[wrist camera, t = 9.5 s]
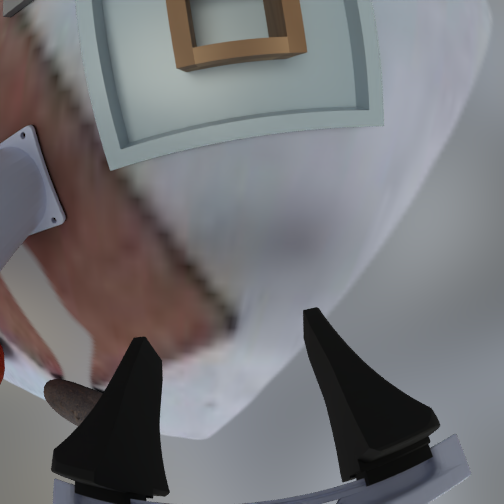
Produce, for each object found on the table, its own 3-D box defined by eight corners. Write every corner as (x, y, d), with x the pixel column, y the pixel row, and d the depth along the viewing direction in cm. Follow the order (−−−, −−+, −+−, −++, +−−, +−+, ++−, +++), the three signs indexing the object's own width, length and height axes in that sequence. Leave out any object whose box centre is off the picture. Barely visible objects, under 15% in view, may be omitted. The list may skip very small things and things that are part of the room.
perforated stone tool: (48, 376, 30) (38, 414, 24) (49, 364, 28) (37, 405, 22) (132, 410, 36) (129, 447, 31) (142, 401, 34) (139, 442, 29)
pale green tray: (123, 158, 16) (110, 170, 13) (90, -22, 7) (74, -32, 5) (364, 119, 16) (383, 126, 14) (337, -56, 8) (352, -68, 6)
